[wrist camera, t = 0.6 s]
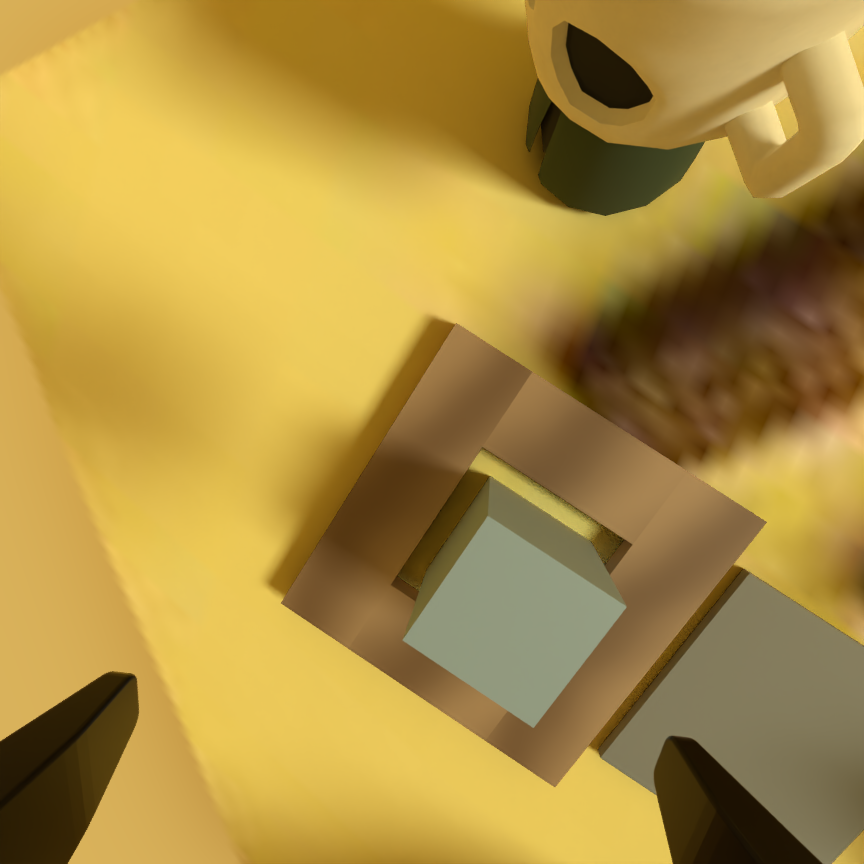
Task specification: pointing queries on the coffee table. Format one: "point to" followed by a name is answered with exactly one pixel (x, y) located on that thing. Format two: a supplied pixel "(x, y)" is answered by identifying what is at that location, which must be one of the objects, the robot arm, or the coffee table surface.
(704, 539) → the walnut pocket plate
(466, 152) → the coffee table surface
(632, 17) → the character mug
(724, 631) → the rubber mat
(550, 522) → the slate block
